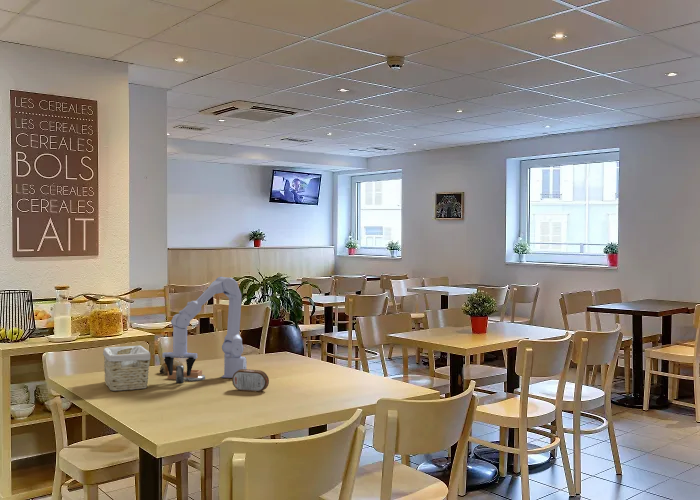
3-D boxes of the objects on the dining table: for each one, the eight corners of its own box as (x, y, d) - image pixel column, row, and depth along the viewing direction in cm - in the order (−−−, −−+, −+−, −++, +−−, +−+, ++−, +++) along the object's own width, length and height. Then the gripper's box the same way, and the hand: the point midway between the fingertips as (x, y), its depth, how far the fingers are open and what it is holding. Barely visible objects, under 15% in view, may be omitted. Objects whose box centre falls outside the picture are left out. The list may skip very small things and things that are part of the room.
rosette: (208, 377, 289) (208, 374, 289) (200, 381, 279) (200, 378, 279) (186, 376, 290) (186, 373, 290) (177, 381, 280) (177, 378, 280)
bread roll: (175, 383, 293) (183, 367, 293) (155, 373, 293) (163, 357, 293) (182, 378, 303) (189, 363, 303) (162, 369, 303) (169, 353, 303)
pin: (184, 382, 279) (184, 365, 279) (182, 383, 276) (182, 366, 276) (177, 381, 279) (177, 365, 279) (175, 383, 276) (175, 366, 276)
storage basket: (102, 381, 278) (102, 346, 278) (142, 378, 285) (142, 344, 285) (108, 393, 257) (108, 355, 257) (151, 389, 264) (151, 352, 264)
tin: (269, 391, 262) (269, 370, 262) (266, 393, 259) (266, 371, 259) (234, 389, 266) (234, 368, 266) (230, 390, 263) (231, 369, 263)
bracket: (202, 377, 287) (202, 370, 287) (197, 380, 282) (197, 372, 282) (171, 376, 289) (171, 369, 289) (166, 379, 283) (166, 371, 283)
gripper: (159, 343, 274) (159, 376, 274) (193, 344, 272) (193, 377, 272) (166, 341, 281) (165, 373, 281) (199, 342, 279) (198, 374, 279)
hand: (179, 375), depth 277 cm, fingers open, 7 cm apart
